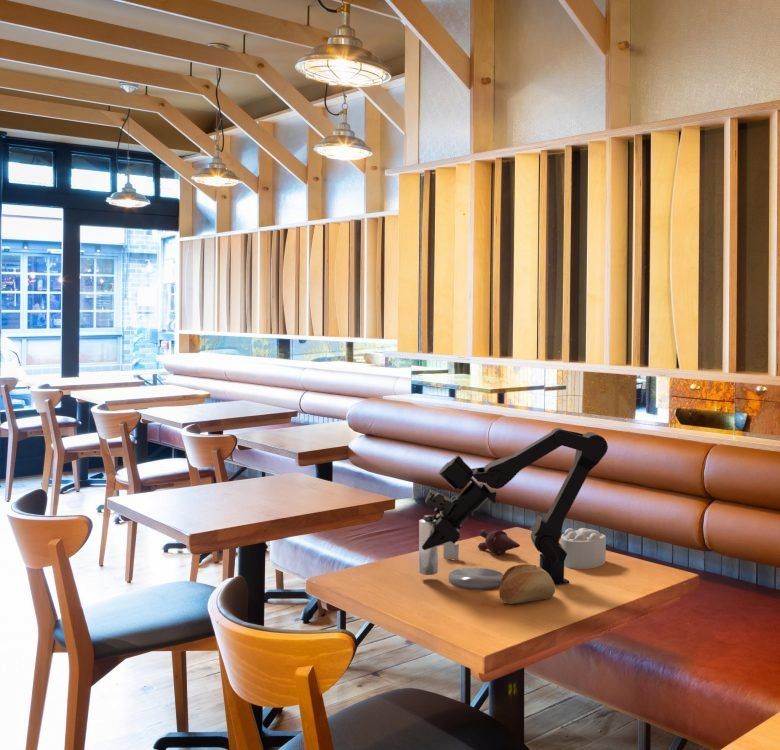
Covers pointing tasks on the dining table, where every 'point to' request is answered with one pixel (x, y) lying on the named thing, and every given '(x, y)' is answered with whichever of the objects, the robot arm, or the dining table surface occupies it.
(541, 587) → the bread roll
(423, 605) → the dining table surface
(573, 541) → the lumpy-topped squat cylinder
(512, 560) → the dining table surface
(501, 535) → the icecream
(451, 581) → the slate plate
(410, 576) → the dining table surface
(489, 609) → the dining table surface
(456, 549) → the lighter
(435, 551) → the pepper mill
